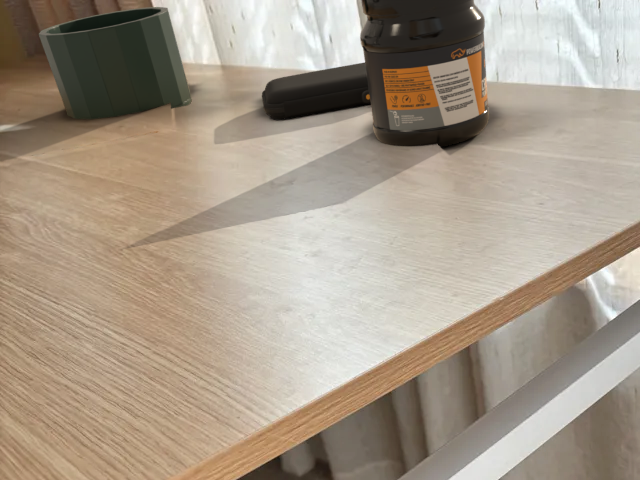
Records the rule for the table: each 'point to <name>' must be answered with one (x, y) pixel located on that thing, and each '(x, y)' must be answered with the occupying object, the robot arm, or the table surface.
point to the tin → (116, 63)
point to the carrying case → (316, 92)
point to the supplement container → (425, 70)
